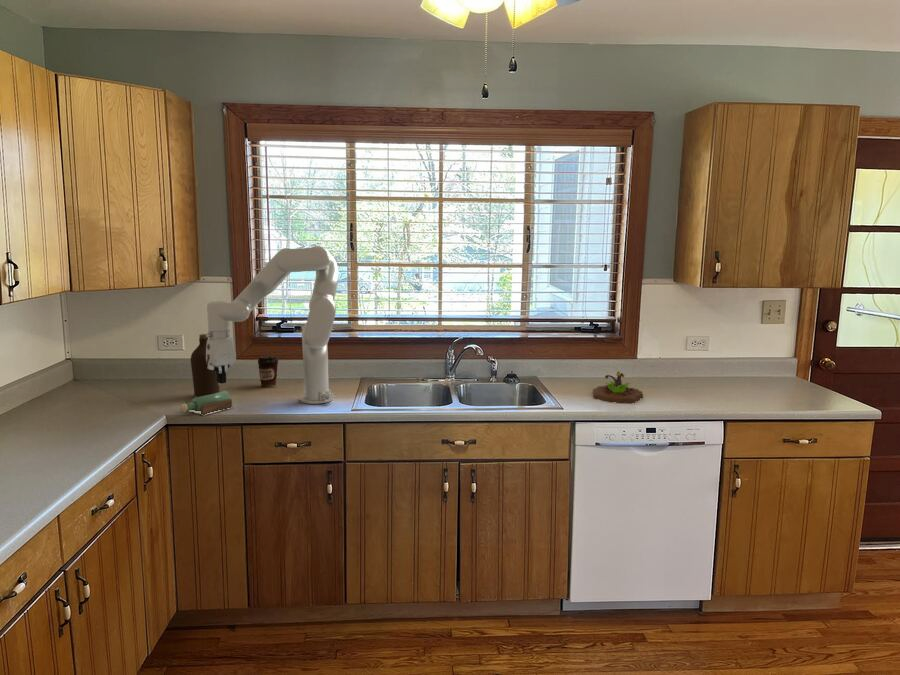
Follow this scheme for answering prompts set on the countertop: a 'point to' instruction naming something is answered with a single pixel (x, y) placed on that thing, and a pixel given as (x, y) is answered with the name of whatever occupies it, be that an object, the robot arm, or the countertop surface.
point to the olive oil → (203, 371)
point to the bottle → (204, 401)
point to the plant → (617, 391)
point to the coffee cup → (268, 370)
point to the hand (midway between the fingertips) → (221, 382)
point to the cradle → (215, 406)
